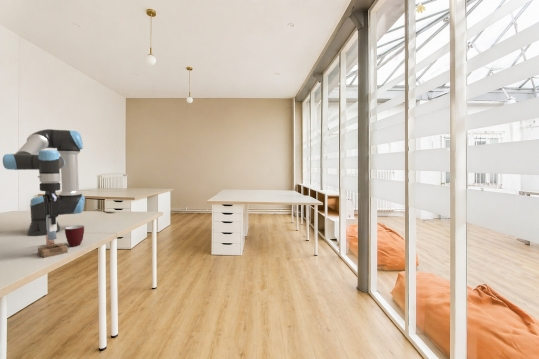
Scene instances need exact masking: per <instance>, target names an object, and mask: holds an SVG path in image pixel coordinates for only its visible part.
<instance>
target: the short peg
mask: <svg viewBox="0 0 539 359" xmlns="http://www.w3.org/2000/svg"><path fill="white" fill-rule="evenodd" d="M45 240H46V242H45V243H46V245H45V246H49V245H54V244H55V239H54V240H48V235H45Z"/></svg>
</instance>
